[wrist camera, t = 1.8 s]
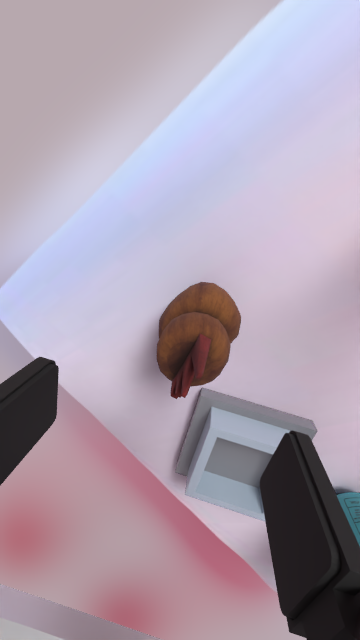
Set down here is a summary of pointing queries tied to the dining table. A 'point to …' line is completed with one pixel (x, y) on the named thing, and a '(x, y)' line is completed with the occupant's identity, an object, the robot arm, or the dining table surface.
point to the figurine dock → (233, 450)
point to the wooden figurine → (196, 336)
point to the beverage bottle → (351, 510)
